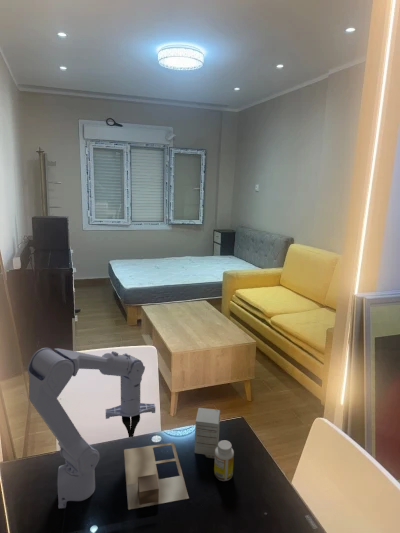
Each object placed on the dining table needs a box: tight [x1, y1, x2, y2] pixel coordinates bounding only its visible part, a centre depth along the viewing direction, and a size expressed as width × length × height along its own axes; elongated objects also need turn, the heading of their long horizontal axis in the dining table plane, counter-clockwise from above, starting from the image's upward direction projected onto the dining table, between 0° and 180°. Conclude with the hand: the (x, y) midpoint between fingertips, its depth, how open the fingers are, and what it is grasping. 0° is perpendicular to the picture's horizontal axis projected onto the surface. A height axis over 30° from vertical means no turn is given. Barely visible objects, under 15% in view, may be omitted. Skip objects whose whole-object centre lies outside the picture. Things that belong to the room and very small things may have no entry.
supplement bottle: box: [213, 439, 235, 482], centre depth 105 cm, size 6×6×10 cm
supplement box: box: [194, 407, 221, 459], centre depth 115 cm, size 7×7×13 cm
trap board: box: [123, 441, 190, 511], centre depth 105 cm, size 16×22×1 cm
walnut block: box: [138, 474, 159, 505], centre depth 97 cm, size 5×5×4 cm
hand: (130, 435), depth 109 cm, fingers closed
